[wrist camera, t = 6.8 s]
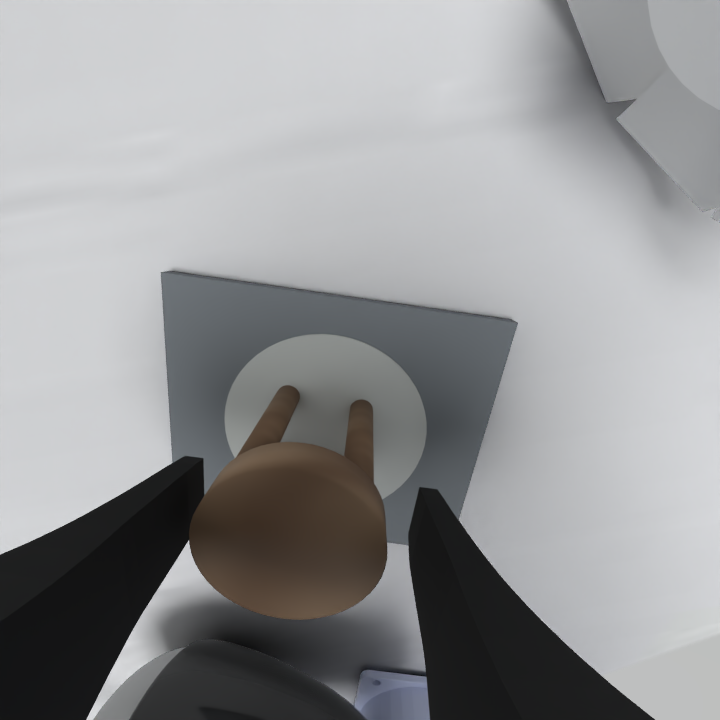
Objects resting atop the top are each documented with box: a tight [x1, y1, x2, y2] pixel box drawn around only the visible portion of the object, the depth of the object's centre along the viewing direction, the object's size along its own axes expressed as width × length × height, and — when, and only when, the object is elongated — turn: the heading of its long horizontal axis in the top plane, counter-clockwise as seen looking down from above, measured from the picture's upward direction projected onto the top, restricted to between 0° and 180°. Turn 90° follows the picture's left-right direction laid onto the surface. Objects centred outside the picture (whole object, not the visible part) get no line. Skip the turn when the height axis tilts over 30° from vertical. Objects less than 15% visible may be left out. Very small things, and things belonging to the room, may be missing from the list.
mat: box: [161, 271, 518, 545], centre depth 15 cm, size 14×12×1 cm
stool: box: [189, 385, 387, 620], centre depth 12 cm, size 6×6×6 cm
